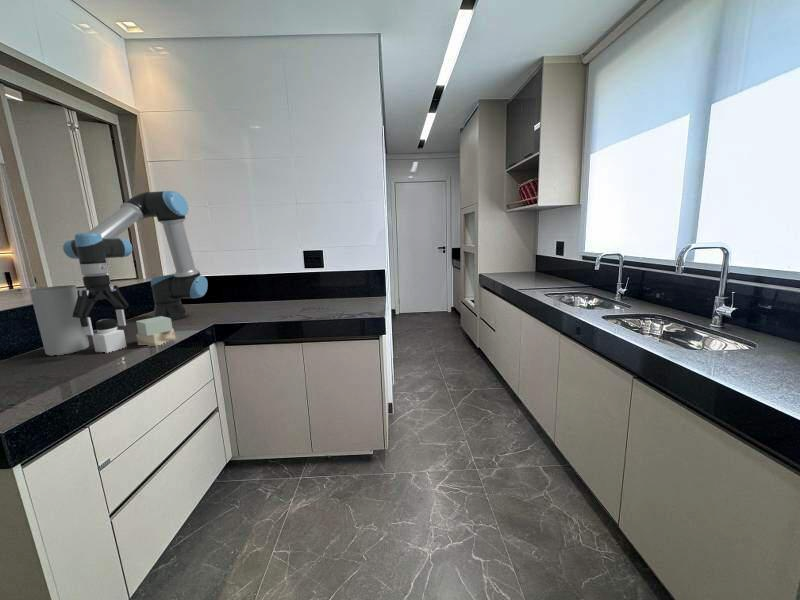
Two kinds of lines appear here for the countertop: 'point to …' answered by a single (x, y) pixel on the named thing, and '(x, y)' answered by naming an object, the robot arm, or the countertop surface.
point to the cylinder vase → (58, 320)
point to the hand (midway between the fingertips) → (106, 330)
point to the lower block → (156, 338)
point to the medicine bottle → (108, 336)
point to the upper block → (154, 325)
